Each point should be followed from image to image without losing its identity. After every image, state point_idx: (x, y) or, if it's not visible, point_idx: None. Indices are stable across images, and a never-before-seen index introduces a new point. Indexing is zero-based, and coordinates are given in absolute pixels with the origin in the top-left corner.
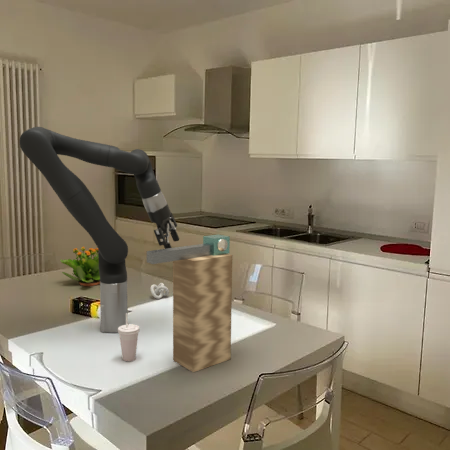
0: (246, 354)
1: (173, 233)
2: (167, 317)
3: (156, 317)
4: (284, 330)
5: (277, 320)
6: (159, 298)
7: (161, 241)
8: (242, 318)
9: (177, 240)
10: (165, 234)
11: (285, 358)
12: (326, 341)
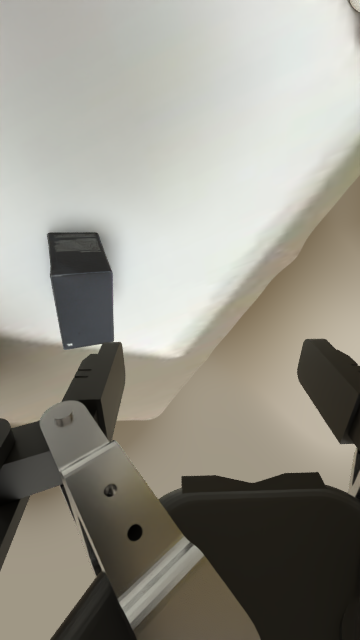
0: (18, 378)
1: (339, 411)
2: (161, 129)
3: (151, 81)
4: (154, 374)
5: (196, 352)
6: (350, 1)
7: (47, 441)
8: (195, 307)
9: (300, 366)
10: (89, 556)
11: (40, 414)
12: (130, 417)
